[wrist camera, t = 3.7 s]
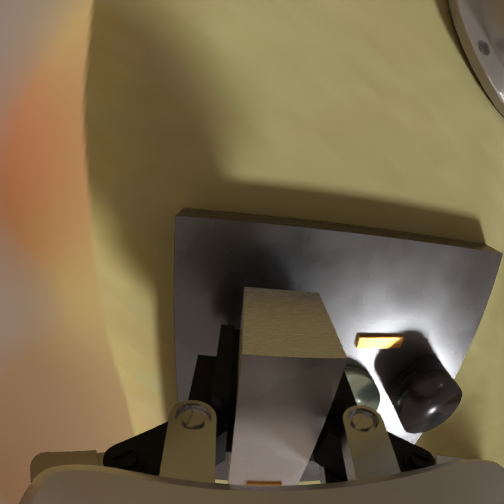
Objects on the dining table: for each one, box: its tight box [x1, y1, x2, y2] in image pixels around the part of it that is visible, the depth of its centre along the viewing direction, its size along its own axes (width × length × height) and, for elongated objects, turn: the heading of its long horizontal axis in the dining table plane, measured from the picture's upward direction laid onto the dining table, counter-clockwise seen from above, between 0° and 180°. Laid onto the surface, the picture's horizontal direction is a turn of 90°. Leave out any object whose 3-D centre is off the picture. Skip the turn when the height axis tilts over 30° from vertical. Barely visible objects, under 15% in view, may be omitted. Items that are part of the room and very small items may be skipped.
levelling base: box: [174, 208, 503, 481], centre depth 14 cm, size 18×16×4 cm
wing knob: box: [228, 287, 347, 486], centre depth 10 cm, size 7×2×6 cm, turn 174°
